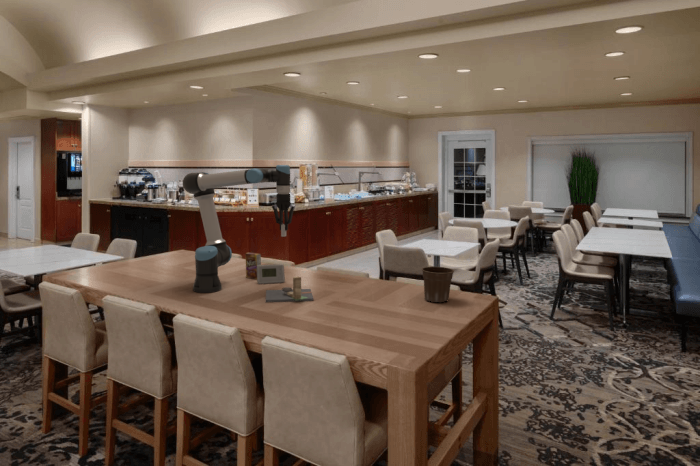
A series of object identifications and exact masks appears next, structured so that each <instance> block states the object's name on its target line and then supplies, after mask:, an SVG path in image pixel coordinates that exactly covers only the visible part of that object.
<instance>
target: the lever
mask: <svg viewBox="0 0 700 466" xmlns="http://www.w3.org/2000/svg"><path fill="white" fill-rule="evenodd" d="M292 289H293V292H288V291H292ZM301 289H302V277H301V276H293V277H292V287H289V286H287V287H283V288H282V289H281V290H282V291H285V292H287V295H289V296H291V297H293V298H294V299H301Z"/></svg>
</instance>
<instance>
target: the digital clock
mask: <svg viewBox="0 0 700 466" xmlns="http://www.w3.org/2000/svg"><path fill="white" fill-rule="evenodd" d="M285 278H286V277H285V265H284V263H275V264H261V265H257V279H256V282H257V284H258V285H271V284H282V283H285V281H286V279H285Z"/></svg>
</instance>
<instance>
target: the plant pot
mask: <svg viewBox="0 0 700 466" xmlns="http://www.w3.org/2000/svg"><path fill="white" fill-rule="evenodd" d="M421 271H422V278H423V289H424V292H423V293H424V301H426V300H427V301H426V302H430V301H431V302H430V303H433V302H444V301H447V300H448V301H449V299H450V291H451V284H452V280H453V275H454V273H455V270H454V269H453V268H450V267H445V266H426V267H422V268H421ZM444 303H445V302H444Z"/></svg>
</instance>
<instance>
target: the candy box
mask: <svg viewBox="0 0 700 466" xmlns="http://www.w3.org/2000/svg"><path fill="white" fill-rule="evenodd" d="M261 256H262V253H256V252H246V253H245V278H246V279H252V280H257V265H262V257H261Z"/></svg>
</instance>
